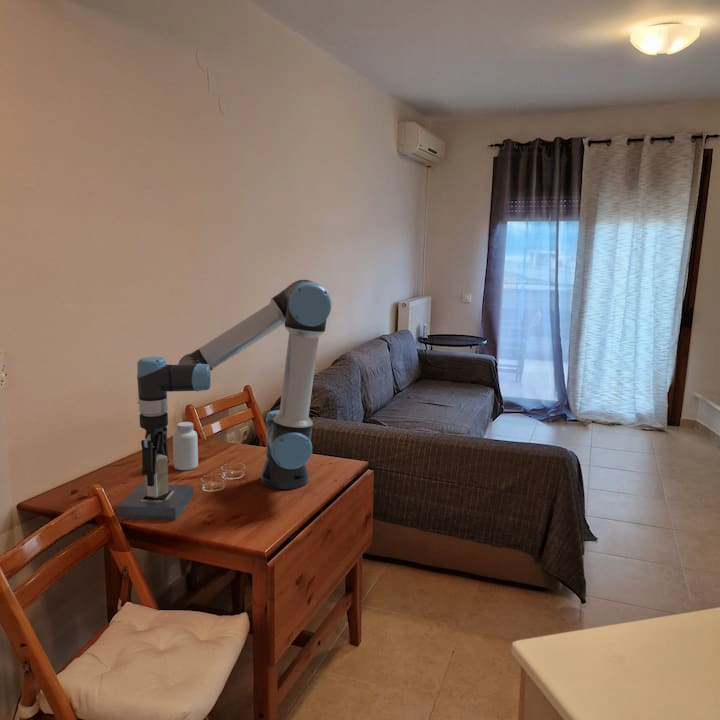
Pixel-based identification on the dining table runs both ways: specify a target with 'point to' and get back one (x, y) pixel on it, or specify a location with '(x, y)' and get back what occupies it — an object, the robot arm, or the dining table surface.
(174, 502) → the base
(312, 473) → the dining table surface
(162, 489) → the box
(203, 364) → the robot arm
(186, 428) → the pill bottle
